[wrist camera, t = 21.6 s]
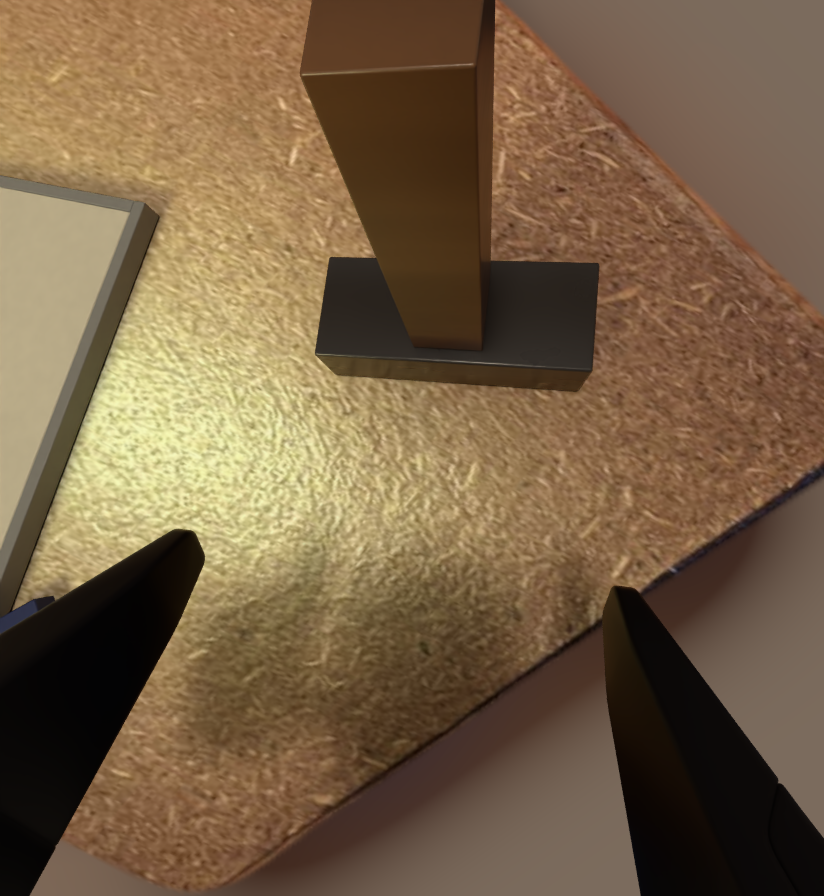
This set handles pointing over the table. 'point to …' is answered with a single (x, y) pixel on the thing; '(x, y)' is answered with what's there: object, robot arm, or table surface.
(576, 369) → the brown rubber stamp
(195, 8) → the table surface
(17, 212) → the whiteboard
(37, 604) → the dark blue domino
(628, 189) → the table surface
